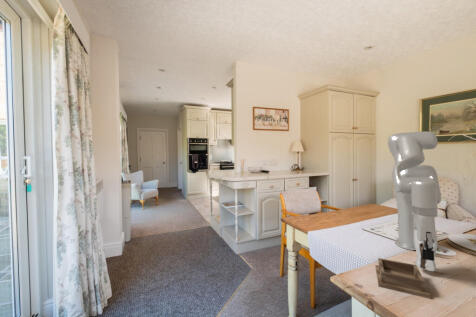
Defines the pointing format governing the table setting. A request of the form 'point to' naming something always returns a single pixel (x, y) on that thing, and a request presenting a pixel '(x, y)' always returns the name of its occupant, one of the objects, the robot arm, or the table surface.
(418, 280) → the brown wooden tray
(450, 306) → the table surface
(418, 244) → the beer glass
